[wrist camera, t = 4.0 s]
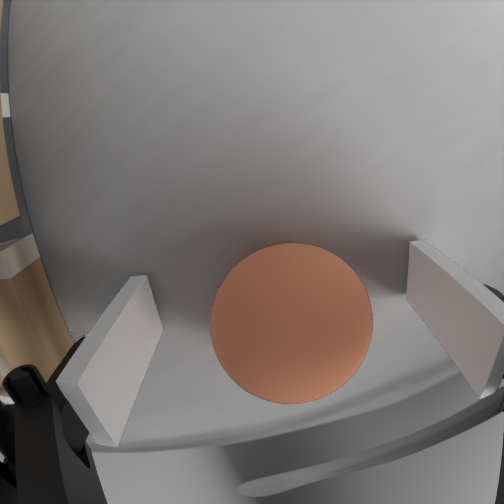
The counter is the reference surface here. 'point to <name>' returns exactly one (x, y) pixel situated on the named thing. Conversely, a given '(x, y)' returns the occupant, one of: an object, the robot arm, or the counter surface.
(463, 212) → the counter surface
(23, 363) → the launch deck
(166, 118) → the counter surface
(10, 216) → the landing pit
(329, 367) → the ball
